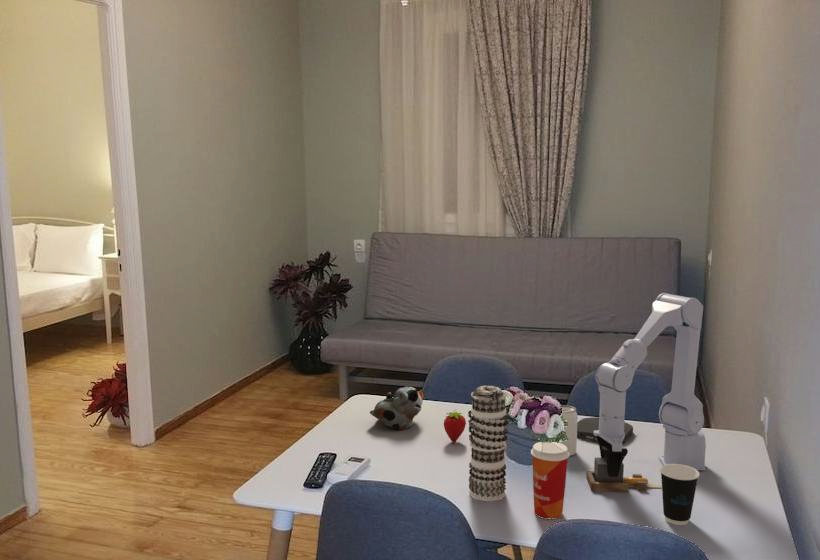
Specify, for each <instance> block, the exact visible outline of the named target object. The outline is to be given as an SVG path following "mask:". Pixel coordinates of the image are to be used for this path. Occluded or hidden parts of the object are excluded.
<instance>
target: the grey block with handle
mask: <svg viewBox="0 0 820 560" xmlns="http://www.w3.org/2000/svg"><path fill="white" fill-rule="evenodd" d="M623 462H624V461H622V464H621V467H620V471H619V474H618V477H609V476H608V473H607V465H606V458H601V457H596V456H595V457H594V463H593V464H594V465H593V471H594V480H595V482H613V483H628V484H629V485H636V484H637V481H645V482H646V485H647V484H649V479H648V478H646V477H642V478H633V477H629V476H628V477H627V476H626V477H624V471H625V470H624V468H625V464H624V463H623Z"/></svg>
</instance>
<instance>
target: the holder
mask: <svg viewBox="0 0 820 560" xmlns="http://www.w3.org/2000/svg"><path fill="white" fill-rule="evenodd" d="M585 478H586V481H587V484H588V487H589V489H590V491H591V492H611V493H613V492H616V493H629V492H630V490H629V488H636V491H647V489H662V484H660V483H648V484H647V485H646V482H645V481H637V484H636V485H629V484H628V483H613V482H595V480H594V470H586V475H585ZM632 478H643V475H642V474H640V473H638V474H637V473H633V474H632Z"/></svg>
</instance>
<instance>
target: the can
mask: <svg viewBox="0 0 820 560" xmlns="http://www.w3.org/2000/svg"><path fill="white" fill-rule="evenodd" d="M560 406H561V408H562V415H563V419H567V421H568V426H567V427H564V430H565V432H566V434H567V436H568V439H569V440H568V441H565V442H559V443H561V444H563V445H565V446H566V447H567V449H568V452H569V454H570V456H569V457H571V456H574V455H576V453H577V446H578V445H577V442H578V437H577V422H578V413H577V408H576V407H574V406H571V405H564V404H563V405H560Z"/></svg>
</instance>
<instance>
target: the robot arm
mask: <svg viewBox="0 0 820 560" xmlns="http://www.w3.org/2000/svg"><path fill="white" fill-rule="evenodd" d="M651 305H652V306H651V314H650V315H649V317H648V318H647V319H646V320H645V322H644V324H643V325H642V327H641V328H640V330H639V331H638V333H636V336H635V337H634V338H631V339H626V340H625V341H624V342H623V343H622V345H621V347H620V348H618V350H617V352H615V354H614V355H613V356H612V358H611V359H610V360H609V361H608V362H604V363H603V364H601V365H600V366H599V367H598V368H597V370H596V374H594V377H595V379H594V380H595V382H596V384H597V386H598V392H599V415H598V416H599V430H594V435H595V436H596V438H597V440H598V442H597V443H598V446H599V453H600V458H606V465H607V473H608V476H609V477H618V474H619V471H620V467H621V464H622V462H624V460H625V458H626V457H627V454H628V451H629V450H628V449H627V448H625V447H622V446H623V444H622V441H623V439H624V437H625V433H624V422H625V419H626V418H625V416H626V415H625V414H626V398H627V397H626V396H627V395H626V394H627V390H628V389H629V388H630V387H631V385H632V383H633V378H634V376H635V374H636V372H635V371H636V370H637V368H638V367H639V366H640V364H642V362H644V360H645V358H646V357H647V356H648V349H647V348H648V347H649V346H650V345H651V344H652V343H653V342H654V340H655V339H656V338H657V337H658V336H659V335H660V334H661V333H662V332H663V331H664V330H665V328H667V327H673V328H674V330H676V338H675V339H676V340H675V350H674V360H673V370H672V381H671V388H670V389H671V390H670V392H669V393H667V394H665V395H664V396H662V401H661V404H660V408H659V411H658V419H659V421H660V423H661V424H662V429H664V430H665V431H664V446H663V448H664V449H663V455H658V459H659V460H660V462H661V463H662V464H663V465H667V464H680V465H686V466H689V467H692V468H694V469H696V470H697V471H706V468H705V465H706V464H705V463H706V462H705V460H706V450H707V449H706V447H707V445H706V436H705V434H704V432H703V431H702V429H703V427H704V423H705V417H704V412H703V411H704V410H703V409H704V408H703V407H704V405H703V403H702V402H701V401H700V399H699V398H697V396H696V395H695V386H696V378H697V377H696V376H697V368H698V367H697V366H698V358H699V347H700V346H699V345H700V338H701V337H700V336H701V329H702V323H703V313H704V305H703V304H702V303H701V301H700V300H699V299H698V298H696V297H687V296H682V295H677V294H670V293H668V292H662V293H660V294H659V295H658V296H657V297H656V298H655V300H654V301H653V302H652V304H651ZM663 465H662V466H663Z"/></svg>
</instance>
